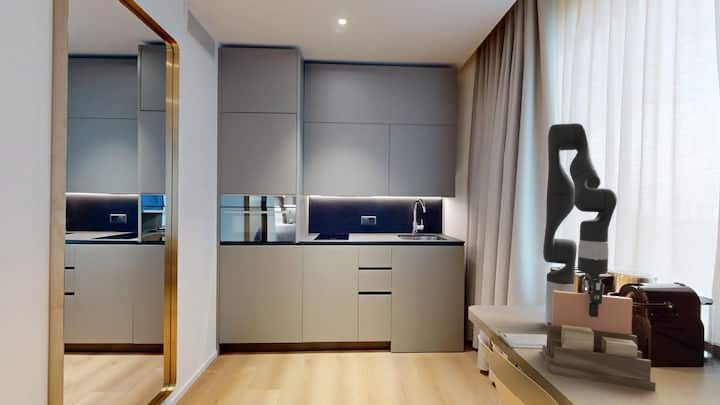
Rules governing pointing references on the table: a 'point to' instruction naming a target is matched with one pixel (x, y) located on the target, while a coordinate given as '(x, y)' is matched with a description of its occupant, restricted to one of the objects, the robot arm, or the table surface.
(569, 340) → the offcut stack
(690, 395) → the table surface
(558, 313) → the terracotta board
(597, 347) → the walnut rack
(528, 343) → the baseboard molding
